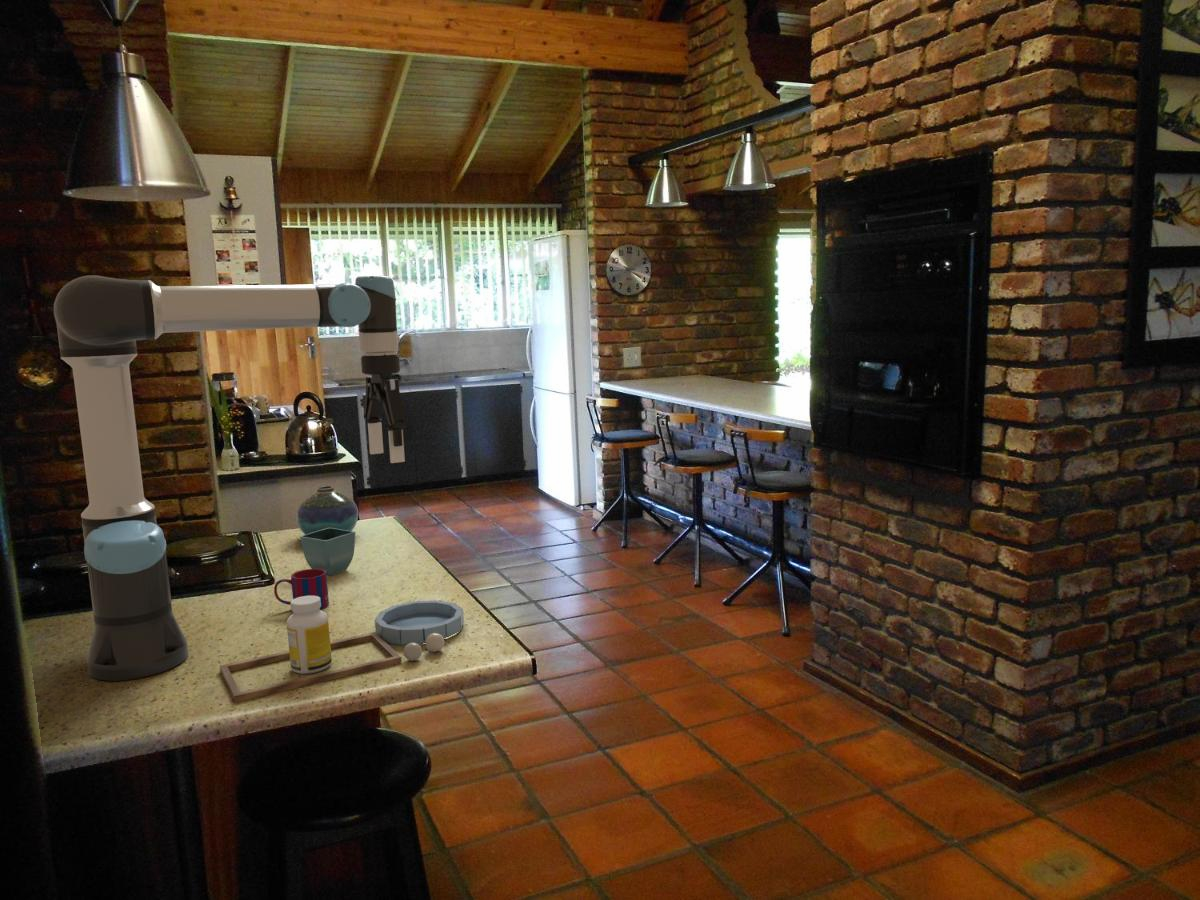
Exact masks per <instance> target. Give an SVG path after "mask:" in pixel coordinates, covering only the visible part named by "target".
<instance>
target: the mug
mask: <svg viewBox="0 0 1200 900" xmlns="http://www.w3.org/2000/svg"><path fill="white" fill-rule="evenodd" d="M327 576H328V575H327V573H326V571H325V570H323V569H311V568H308V569H301V570H298V571H295V572H293V573H292V574H291V575H290V577H291V578H290V579H289V578H288V579H287V578H282V579H279V580H277V581H276V582H275V584H274V587H273V591H274V596H275V598H276V599H277V601H278V602H280V603H282V604H284V605H289V606H291V600H284V599H282V598H280V596H279V595H278V586H279V584H280V583H281V584H282V583H285V582H286V583H288V584H290V585H291V593H292V600H293V599H295V598H298V597H302V596H318V597H320V599H321V607H320V610H321V611H322V610H323V609H325V608H327V607H328V606H329V605H330V603H329V602H330V599H329V588H328V587H329V586H328V577H327Z"/></svg>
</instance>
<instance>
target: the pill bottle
mask: <svg viewBox="0 0 1200 900" xmlns="http://www.w3.org/2000/svg"><path fill="white" fill-rule="evenodd" d="M290 601H291V605H290V609H291V610H290V611H291V612H292V614H291V615H289V617H288V618H287V621H286V631H287V642H288V651H289V653H290V659H289V660H290V661H289V662H290V669H291V670H292V671H293V672H295V673H297V674H303V675H304V674H305V675H307V674H314V673H318V672H322V671H324V670H327V668H329V667H330V666H331V664H332V661H333V659H332V649H331V647H330V642H331V639H330V638H331V636H330V628H329V625H330V624H329V617H328V615H327V613H326V612H325V611H323V610H322V609H321V610H320V607H321V599H320V597H318V596H302V597H298V598H295V599H293V598H292V600H290Z"/></svg>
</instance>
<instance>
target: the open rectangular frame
mask: <svg viewBox="0 0 1200 900" xmlns="http://www.w3.org/2000/svg"><path fill="white" fill-rule="evenodd" d="M370 641H372V642H373V643H374V644H375V645H376V646H377V647H378V648H379V649H380V650H381V651H382V652H383V653H384V654H385V655H386V656H387V658H382V659H378V660H374V661H369V662H363V663H359V664H356V665H351V666H347V667H344V668H339V669H335V670H329V671H326V672H322V673H317V674H313V675H308V676H304V677H300V678H297V679H292V680H288V681H287V680H286V681H284V682H279V683H275V684H269V685H266V686H261V687H256V688H253V689H248V690H244V691H240V689H239V687H238V684H237V683H236V681H235V679H234V676H233V675H232V672H234V671H238V670H243V669H248V668H253V667H257V666H262V665H266V664H271V663H274V662H280V661H285V660H290V653H289V650H287V651H286V650H285V651H282V652H277V653H273V654H267V655H264V656H258V657H255V658H249V659H245V660H240V661H236V662H231V663H226V664H222V665H219V670H220V674H221V676H222V678H223V680H224V682H225V684H226V686H227V688H228V690H229V692H230V695H231V697H232V699H233V701H234V703H239V702H243V701H246V700H251V699H252V700H253V699H256V698H260V697H264V696H267V695H273V694H276V693H281V692H285V691H290V690H292V689H298V688H301V687H306V686H310V685H314V684H319V683H323V682H327V681H331V680H335V679H339V678H344V677H349V676H353V675H356V674H357V675H358V674H360V673H365V672H369V671H373V669H374V670H377V668H378V669H381V668H385V666H387V667H390V666H389V665H391V666H394V665H393V664H395V665H397V664H396V663H399V664H401V663H400V662H403V661H402V660H403V659H402V656H401V655H400V654H399V653H398V652H397V651H395V649H394V648H393V647H392V646H390V645H389V643H386V642H385V641H384V640H383V639H382V638H381V637H380V636H379V635H378V634H377V633H376V631H375V632H370V633H366V634H359V635H356V636H351V637H346V638H342V639H337V640H332V641H330V647H331V650H334V649H339V648H344V647H349V646H352V645H358V644H361V643H365V642H370ZM388 656H389V657H390V658H389V657H388Z"/></svg>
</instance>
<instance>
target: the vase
mask: <svg viewBox="0 0 1200 900" xmlns="http://www.w3.org/2000/svg"><path fill="white" fill-rule="evenodd" d="M358 518H359V509H358V506H357V504H356V502H355V501H354V500H353V499H352V498H351V497H350V496H348V495H346V494H345V493H342V492H340V491H337V490H336V489H335V488H334V486H333V485H324V486H319V487H317V488H316V492H313V494H311V495H309V496H308V497H306V498H305V499H304V500H302V501H301V503H300V504H299V506H298V507H297V511H296V523H297V525H298V528H299V530H300V531H301V532H302V533H303V535H306V534H309V533H312V532H316V531H319V530H322V529H326V528H336V529H342V530H348V531H354V528H355V527H356V525H357V523H358Z"/></svg>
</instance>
